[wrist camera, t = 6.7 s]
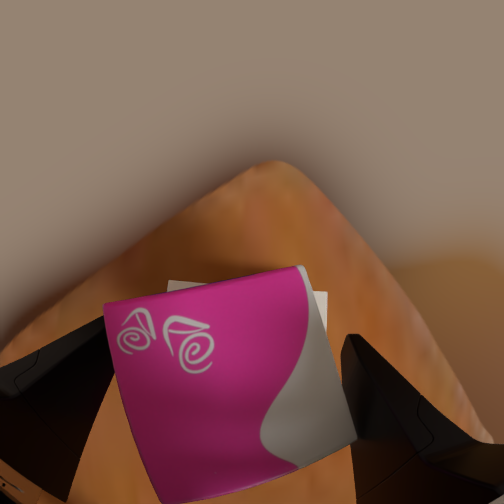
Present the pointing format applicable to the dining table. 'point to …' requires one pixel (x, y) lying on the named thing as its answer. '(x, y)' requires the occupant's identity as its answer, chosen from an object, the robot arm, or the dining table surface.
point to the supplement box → (227, 383)
